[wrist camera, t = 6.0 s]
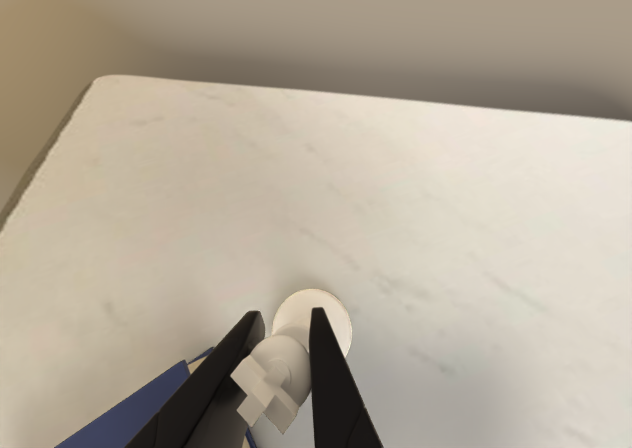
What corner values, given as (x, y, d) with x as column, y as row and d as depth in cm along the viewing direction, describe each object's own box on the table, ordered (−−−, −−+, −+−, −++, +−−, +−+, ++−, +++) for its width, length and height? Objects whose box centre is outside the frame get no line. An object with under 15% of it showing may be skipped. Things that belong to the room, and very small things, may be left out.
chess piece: (318, 395, 13) (256, 682, 3) (257, 335, 14) (90, 421, 5) (367, 324, 14) (430, 393, 4) (306, 273, 15) (248, 240, 6)
